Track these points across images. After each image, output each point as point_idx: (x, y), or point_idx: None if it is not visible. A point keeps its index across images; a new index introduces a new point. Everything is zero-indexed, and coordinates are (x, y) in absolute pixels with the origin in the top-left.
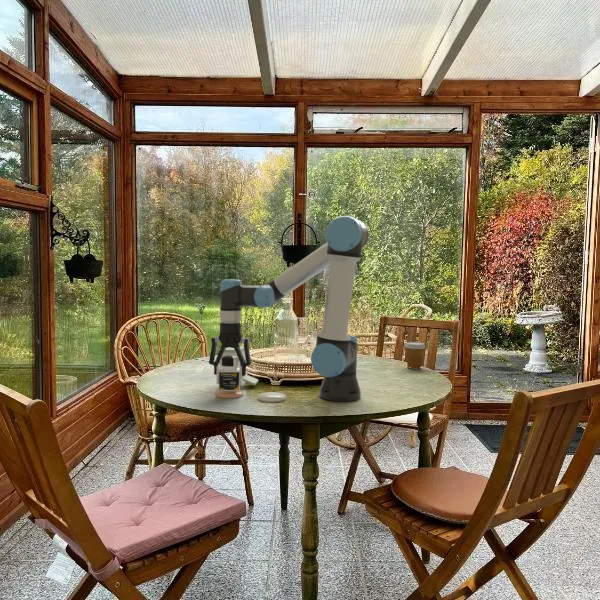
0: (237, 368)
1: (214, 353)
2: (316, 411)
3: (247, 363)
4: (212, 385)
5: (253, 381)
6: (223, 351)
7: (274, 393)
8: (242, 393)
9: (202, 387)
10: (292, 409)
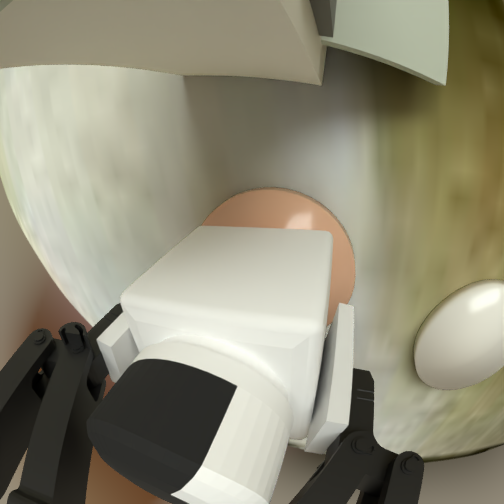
0: (289, 382)
1: (21, 423)
2: (500, 429)
3: (369, 493)
4: None
5: (431, 44)
6: (71, 492)
7: (501, 314)
8: (347, 302)
9: (106, 90)
10: (464, 427)
